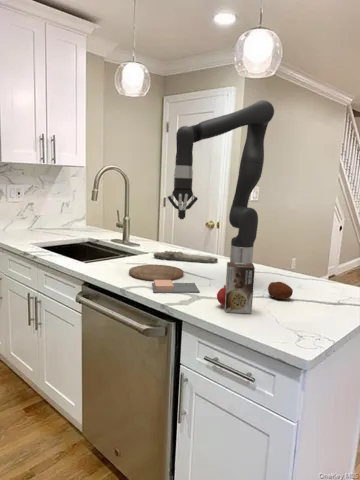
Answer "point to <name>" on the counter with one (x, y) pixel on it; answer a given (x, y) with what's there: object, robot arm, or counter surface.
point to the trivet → (156, 272)
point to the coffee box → (239, 287)
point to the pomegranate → (221, 296)
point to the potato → (280, 290)
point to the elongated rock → (184, 257)
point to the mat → (180, 288)
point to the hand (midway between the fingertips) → (181, 219)
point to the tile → (163, 285)
